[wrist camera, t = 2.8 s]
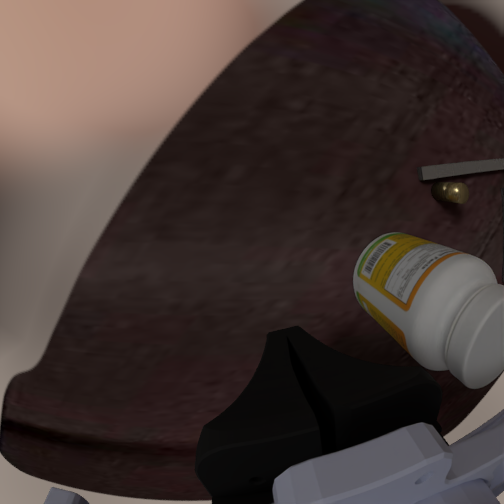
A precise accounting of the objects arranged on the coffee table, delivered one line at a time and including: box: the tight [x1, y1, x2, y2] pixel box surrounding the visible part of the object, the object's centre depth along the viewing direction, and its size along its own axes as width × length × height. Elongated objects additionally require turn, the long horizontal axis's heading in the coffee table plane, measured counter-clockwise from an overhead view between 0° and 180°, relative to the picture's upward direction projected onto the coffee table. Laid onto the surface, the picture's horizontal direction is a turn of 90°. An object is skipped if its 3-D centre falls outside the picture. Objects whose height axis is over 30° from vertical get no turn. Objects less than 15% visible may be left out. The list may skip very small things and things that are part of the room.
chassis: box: [417, 159, 504, 282], centre depth 16 cm, size 12×12×2 cm
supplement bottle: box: [353, 232, 504, 389], centre depth 12 cm, size 5×5×10 cm
